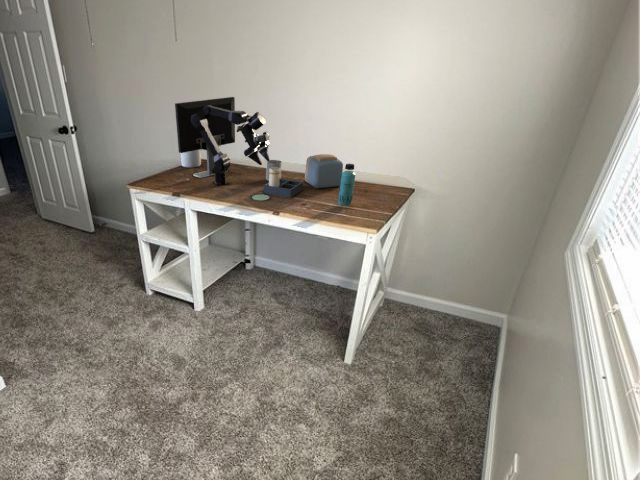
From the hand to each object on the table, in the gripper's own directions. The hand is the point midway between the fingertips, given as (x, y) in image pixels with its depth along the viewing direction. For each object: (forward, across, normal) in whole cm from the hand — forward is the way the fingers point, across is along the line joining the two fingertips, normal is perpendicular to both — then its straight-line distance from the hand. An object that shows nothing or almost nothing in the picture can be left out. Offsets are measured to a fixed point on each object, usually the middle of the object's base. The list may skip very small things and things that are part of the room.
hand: (265, 162), depth 215 cm
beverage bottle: (+38, -5, -28) cm, 48 cm away
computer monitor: (-13, +16, +44) cm, 48 cm away
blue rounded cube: (+26, +24, -11) cm, 37 cm away
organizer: (+18, +2, 0) cm, 18 cm away
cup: (+10, +20, +12) cm, 25 cm away
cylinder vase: (-25, +25, +60) cm, 70 cm away
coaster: (+14, -13, +5) cm, 19 cm away
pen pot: (+15, -1, +3) cm, 15 cm away
